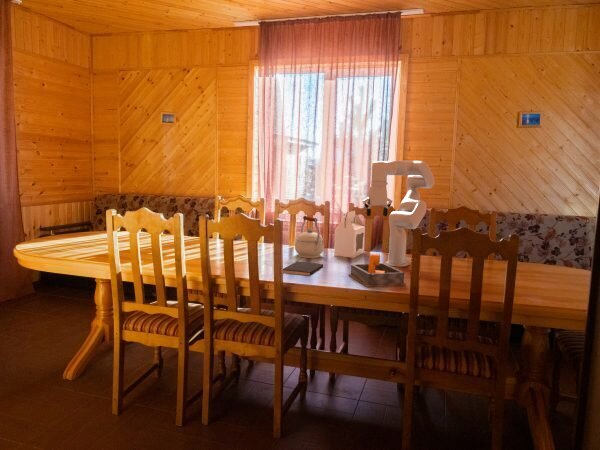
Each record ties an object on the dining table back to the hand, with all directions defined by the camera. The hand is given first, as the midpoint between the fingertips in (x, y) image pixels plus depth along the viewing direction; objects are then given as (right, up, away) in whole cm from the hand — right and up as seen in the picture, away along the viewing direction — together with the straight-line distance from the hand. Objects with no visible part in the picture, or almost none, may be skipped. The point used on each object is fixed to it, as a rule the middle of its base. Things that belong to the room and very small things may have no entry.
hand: (376, 215), depth 253 cm
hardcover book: (-40, -30, +2) cm, 50 cm away
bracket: (-3, -32, -18) cm, 37 cm away
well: (-3, -33, -19) cm, 38 cm away
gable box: (-10, -24, +51) cm, 57 cm away
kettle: (-35, -25, +39) cm, 58 cm away
